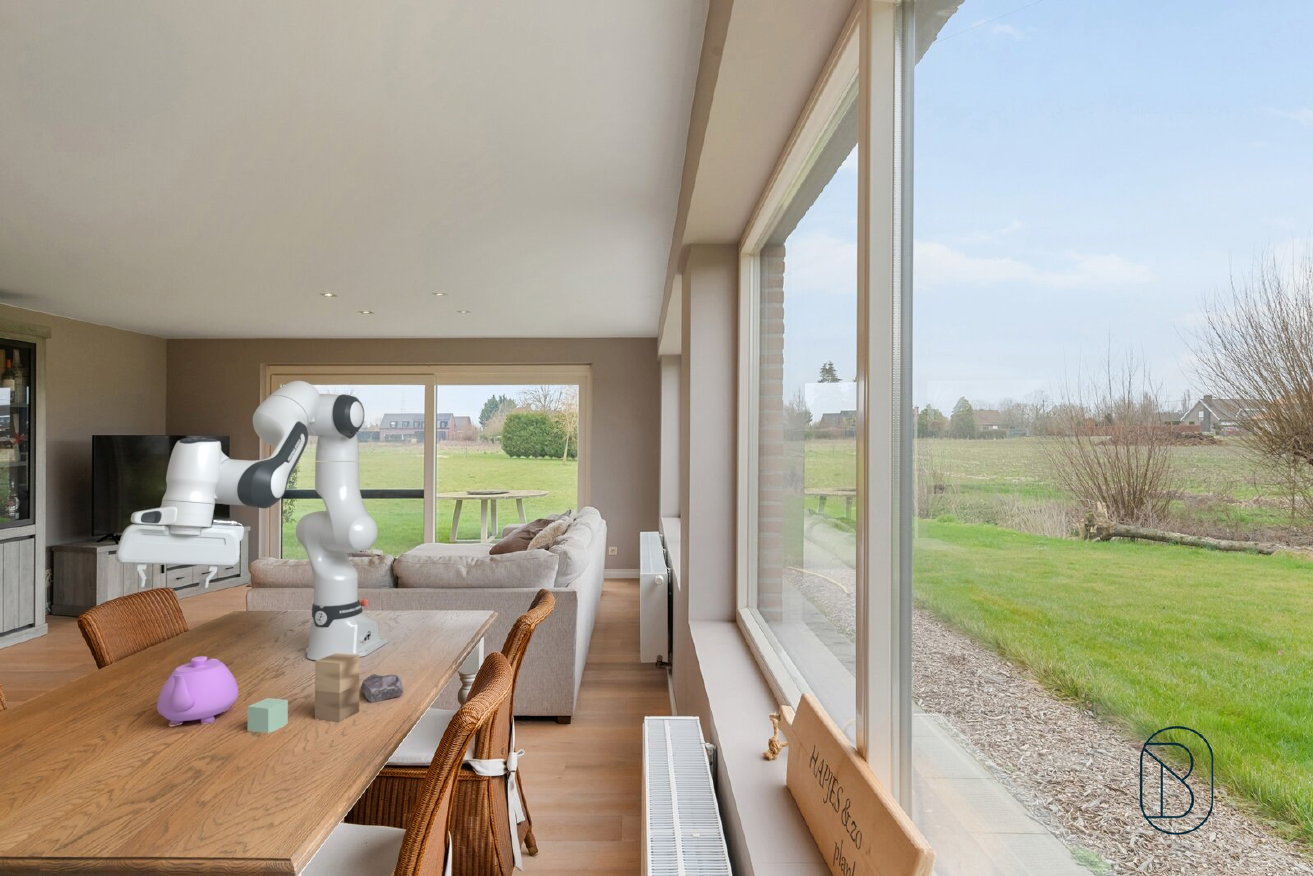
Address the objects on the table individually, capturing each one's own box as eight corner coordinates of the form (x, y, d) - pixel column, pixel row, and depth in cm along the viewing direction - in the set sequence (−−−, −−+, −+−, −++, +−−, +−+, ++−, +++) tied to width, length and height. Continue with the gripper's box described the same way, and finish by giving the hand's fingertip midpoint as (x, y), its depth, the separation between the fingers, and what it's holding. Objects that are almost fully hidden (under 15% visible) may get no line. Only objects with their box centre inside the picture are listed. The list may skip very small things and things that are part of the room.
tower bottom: (335, 709, 150) (335, 681, 150) (359, 712, 148) (359, 683, 148) (314, 719, 144) (315, 690, 144) (339, 722, 142) (339, 693, 142)
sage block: (267, 722, 143) (267, 698, 143) (287, 724, 141) (287, 700, 141) (247, 732, 138) (247, 706, 138) (268, 734, 137) (268, 708, 137)
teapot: (213, 735, 136) (213, 671, 136) (131, 742, 133) (132, 676, 133) (252, 700, 155) (252, 644, 156) (181, 704, 153) (182, 647, 153)
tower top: (335, 681, 150) (335, 653, 150) (359, 683, 148) (359, 655, 148) (315, 690, 144) (315, 661, 144) (339, 693, 142) (339, 663, 143)
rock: (392, 685, 166) (392, 665, 166) (407, 698, 157) (407, 678, 157) (356, 692, 161) (355, 672, 161) (369, 706, 152) (369, 685, 152)
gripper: (243, 520, 147) (232, 587, 145) (122, 513, 135) (109, 586, 132) (248, 521, 142) (238, 590, 140) (124, 513, 130) (110, 588, 128)
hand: (174, 588), depth 136 cm, fingers open, 8 cm apart
